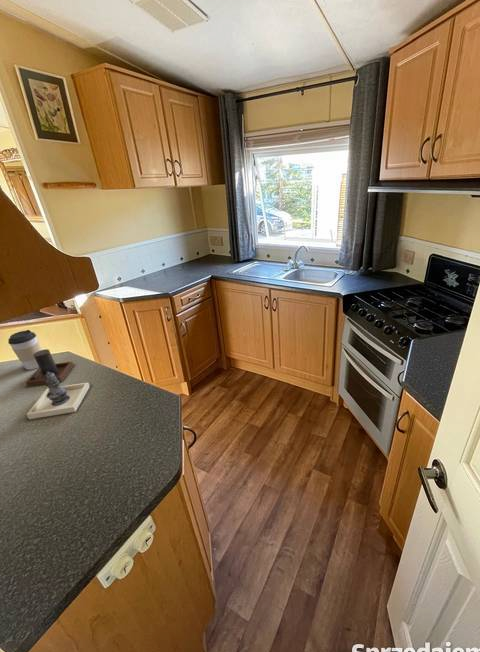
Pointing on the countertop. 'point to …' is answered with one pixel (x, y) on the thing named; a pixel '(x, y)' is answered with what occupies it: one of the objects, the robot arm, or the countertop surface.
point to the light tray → (47, 409)
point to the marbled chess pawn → (55, 390)
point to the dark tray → (63, 371)
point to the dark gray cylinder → (45, 362)
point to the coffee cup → (25, 347)
